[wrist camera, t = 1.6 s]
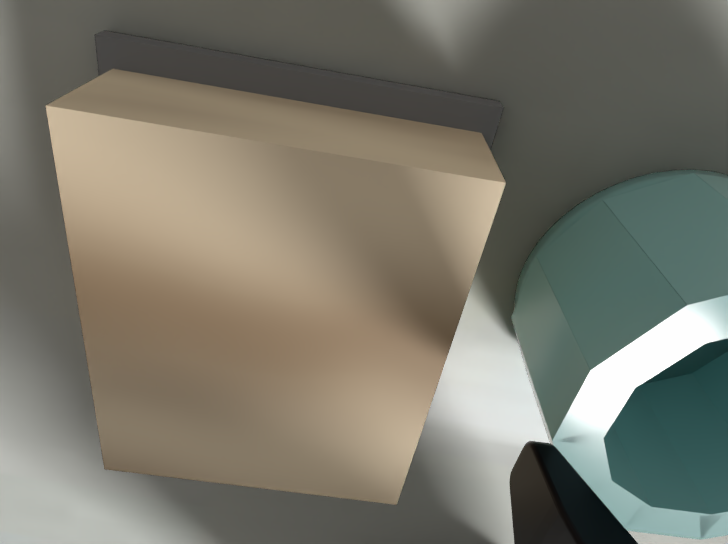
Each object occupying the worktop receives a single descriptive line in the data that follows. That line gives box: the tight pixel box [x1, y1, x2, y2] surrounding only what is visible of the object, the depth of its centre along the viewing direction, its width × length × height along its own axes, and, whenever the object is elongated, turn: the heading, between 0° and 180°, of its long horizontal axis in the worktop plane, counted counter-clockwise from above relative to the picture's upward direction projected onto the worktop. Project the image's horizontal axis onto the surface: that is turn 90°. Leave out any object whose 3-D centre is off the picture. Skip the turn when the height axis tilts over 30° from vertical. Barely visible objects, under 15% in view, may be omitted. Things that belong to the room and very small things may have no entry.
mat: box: [95, 31, 504, 150], centre depth 12 cm, size 9×7×1 cm
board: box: [46, 69, 506, 505], centre depth 11 cm, size 8×6×2 cm
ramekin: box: [511, 170, 728, 539], centre depth 10 cm, size 6×6×4 cm
